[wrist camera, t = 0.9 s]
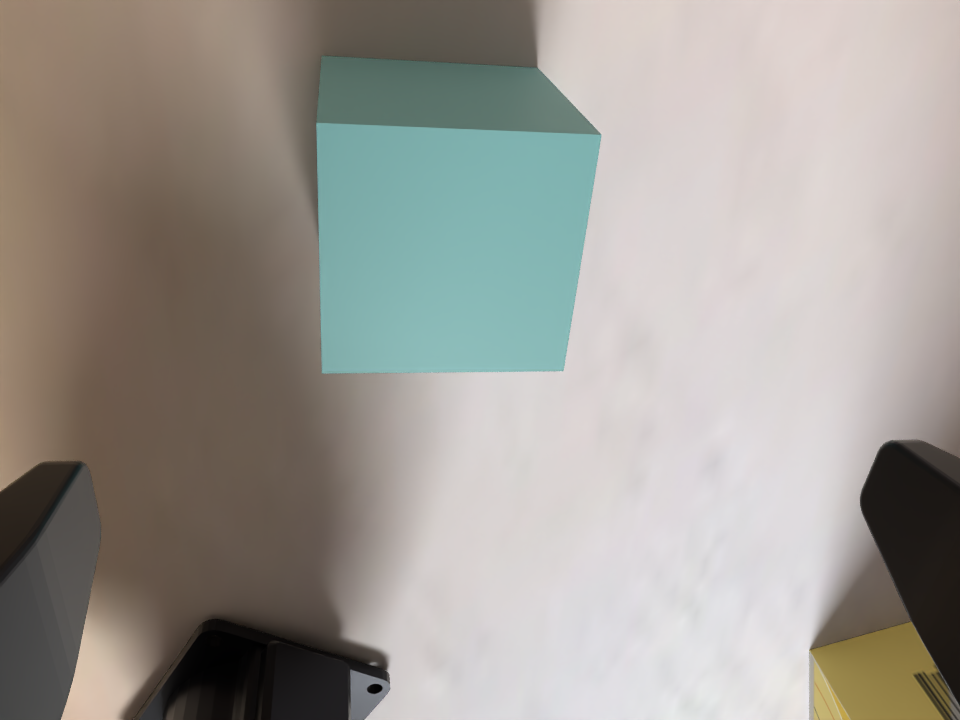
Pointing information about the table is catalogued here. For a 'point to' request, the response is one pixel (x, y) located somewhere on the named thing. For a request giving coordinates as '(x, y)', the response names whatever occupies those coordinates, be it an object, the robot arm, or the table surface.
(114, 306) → the table surface
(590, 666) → the table surface
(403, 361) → the teal block
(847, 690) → the pasta box
